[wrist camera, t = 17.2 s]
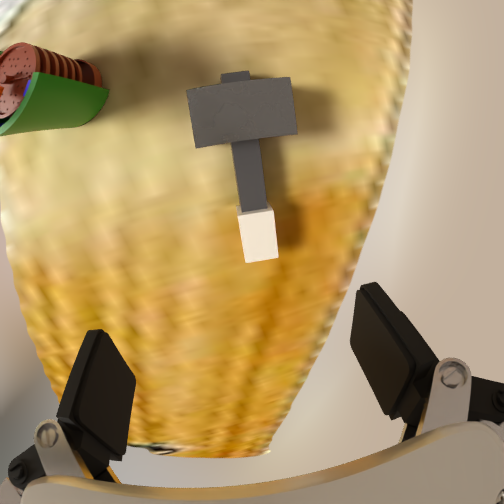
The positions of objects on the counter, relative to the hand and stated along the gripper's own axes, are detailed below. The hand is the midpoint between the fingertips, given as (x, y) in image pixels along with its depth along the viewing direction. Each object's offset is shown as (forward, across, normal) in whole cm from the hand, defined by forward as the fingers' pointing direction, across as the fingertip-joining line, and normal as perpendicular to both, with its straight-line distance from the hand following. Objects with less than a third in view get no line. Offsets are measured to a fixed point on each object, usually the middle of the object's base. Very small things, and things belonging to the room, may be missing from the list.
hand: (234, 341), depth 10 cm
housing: (+27, -3, -7) cm, 28 cm away
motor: (+27, +17, -15) cm, 35 cm away
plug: (+26, -3, -1) cm, 27 cm away
